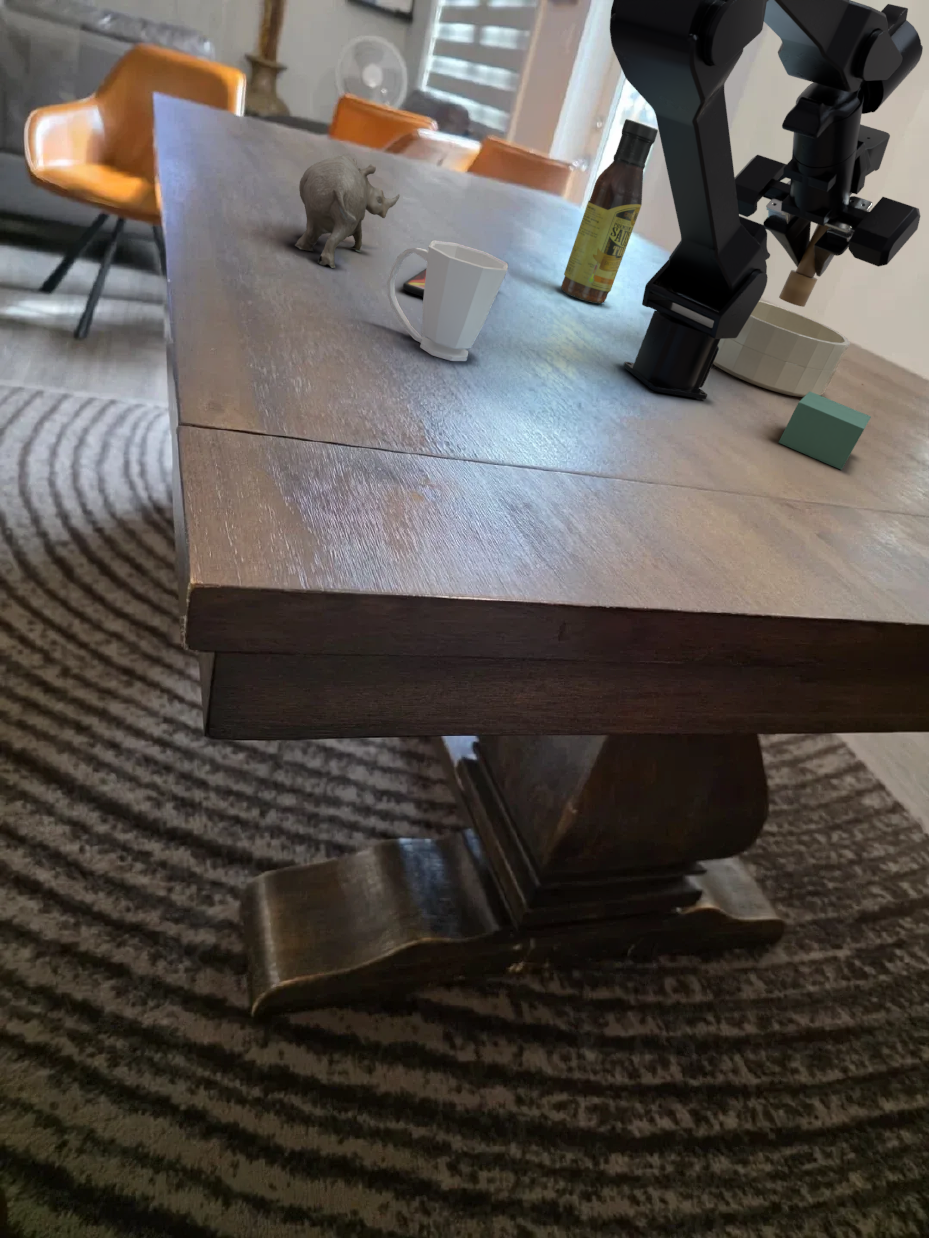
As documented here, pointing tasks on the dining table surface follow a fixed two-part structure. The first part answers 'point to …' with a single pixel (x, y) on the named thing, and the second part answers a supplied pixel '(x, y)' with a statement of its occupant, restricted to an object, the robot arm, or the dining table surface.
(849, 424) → the stand
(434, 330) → the cup
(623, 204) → the sauce bottle
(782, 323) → the bowl
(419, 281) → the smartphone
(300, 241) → the rhinoceros figurine
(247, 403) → the dining table surface
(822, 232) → the wooden peg
